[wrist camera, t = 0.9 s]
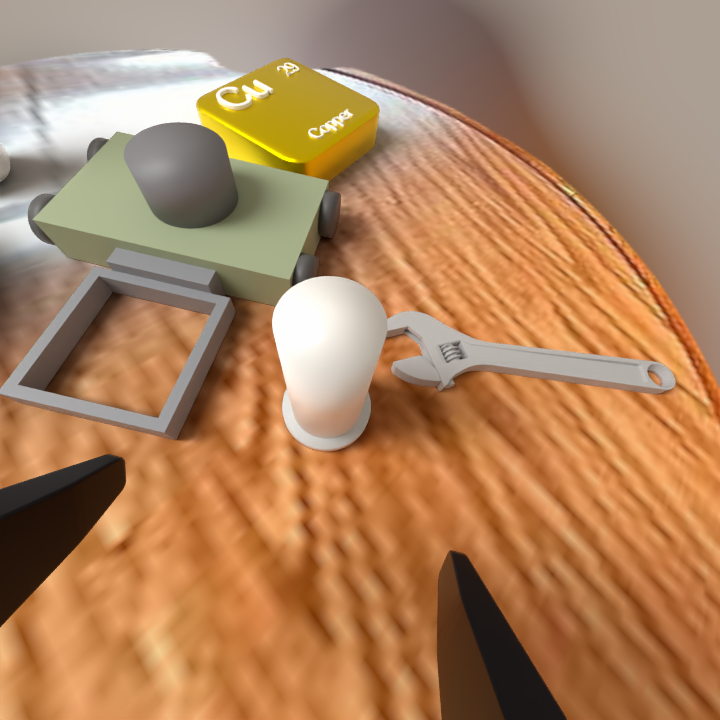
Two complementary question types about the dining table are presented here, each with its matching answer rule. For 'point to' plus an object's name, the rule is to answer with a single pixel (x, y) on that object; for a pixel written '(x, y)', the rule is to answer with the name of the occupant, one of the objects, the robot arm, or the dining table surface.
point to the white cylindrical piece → (328, 359)
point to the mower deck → (171, 250)
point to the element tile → (291, 120)
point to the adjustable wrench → (512, 360)
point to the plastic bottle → (4, 163)
